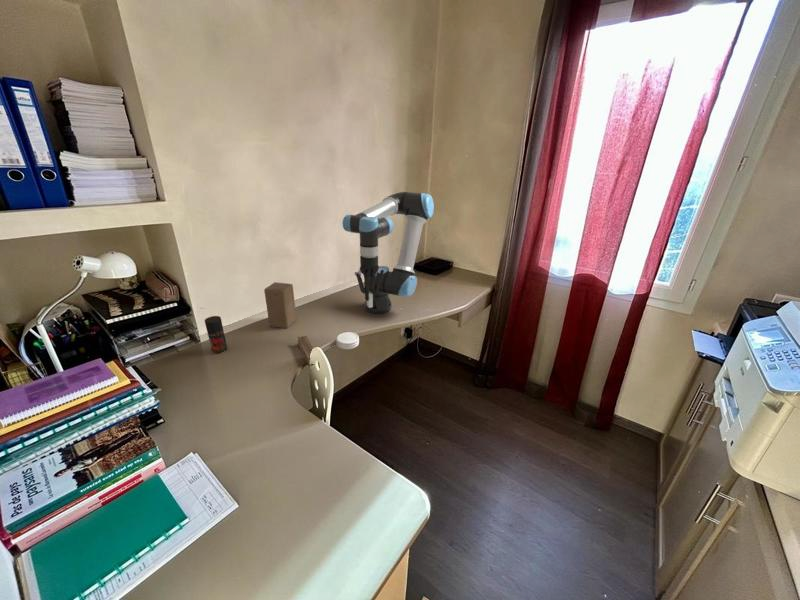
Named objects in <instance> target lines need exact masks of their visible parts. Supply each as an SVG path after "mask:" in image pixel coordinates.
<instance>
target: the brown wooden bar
mask: <svg viewBox="0 0 800 600" xmlns="http://www.w3.org/2000/svg"><path fill="white" fill-rule="evenodd" d="M297 343H298V346H299V348H300V350H301V352H302V354H303V356H304V359H305V361H306V362H307V365H308V366H309V360H310V353H311V351H312V349H313V348H314V346H313V344H312V342H311V341H310V339H309V337H308V335H303V336H299V337H297Z"/></svg>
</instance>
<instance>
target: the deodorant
mask: <svg viewBox="0 0 800 600" xmlns="http://www.w3.org/2000/svg"><path fill="white" fill-rule="evenodd" d="M222 322H223V321H222V318H221V316H219V315H213V316H212V315H211V316H208V317H206V318H205V319H204V324H205V327H206V332H207V333H206V334H207V336H208V340H209V345H210V349H211V353H212V352H213V353H212V354H214V353H221V354H223V353H222V352H224V351H225V352H227V351H228V345H227V341H226V336H225V331H224V327H223V323H222ZM226 350H227V351H226ZM225 352H224V353H225Z"/></svg>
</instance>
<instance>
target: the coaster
mask: <svg viewBox="0 0 800 600" xmlns="http://www.w3.org/2000/svg"><path fill="white" fill-rule="evenodd" d="M335 340H336V346H337V347H338V348H340V349H341V350H352V349H355V348H357V347H358V346H359V344H360V337H359V335H358V334H357V333H355V332H351V331H350V332H349V331H347V332H342V333H340V334H338V335H336V339H335Z"/></svg>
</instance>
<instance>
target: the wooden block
mask: <svg viewBox="0 0 800 600" xmlns="http://www.w3.org/2000/svg"><path fill="white" fill-rule="evenodd" d="M263 291H264V292H263V293H264V297H265V304H266V311H267V319H268V324H269V326H270V327H275V328H280V329H281V328H282V329H288V328H290V327H291V326H292V325H293V324H294V323H295V322H296V321H297V309H296V303H295V294H294V285H293V283H286V282H273V283H272V284H270V285H269V286H267V287H266V288H264V290H263Z"/></svg>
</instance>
